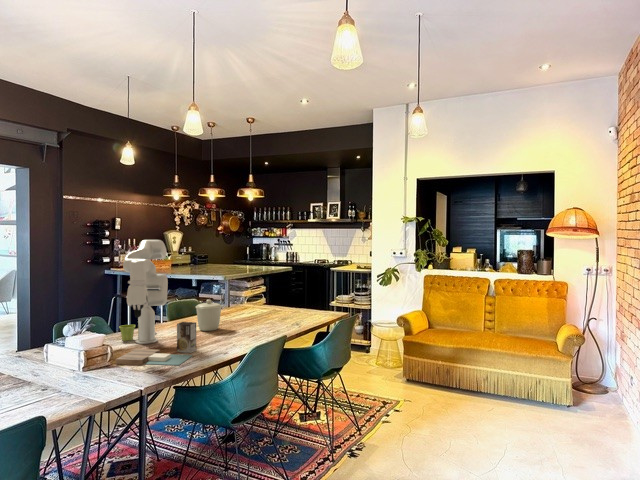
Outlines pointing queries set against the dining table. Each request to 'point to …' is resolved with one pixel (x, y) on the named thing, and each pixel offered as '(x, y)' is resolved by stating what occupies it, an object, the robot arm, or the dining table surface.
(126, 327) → the plant pot
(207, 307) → the canister
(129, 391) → the dining table surface
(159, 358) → the tile
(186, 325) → the coffee box
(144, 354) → the walnut deck
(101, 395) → the dining table surface
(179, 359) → the teal mat
